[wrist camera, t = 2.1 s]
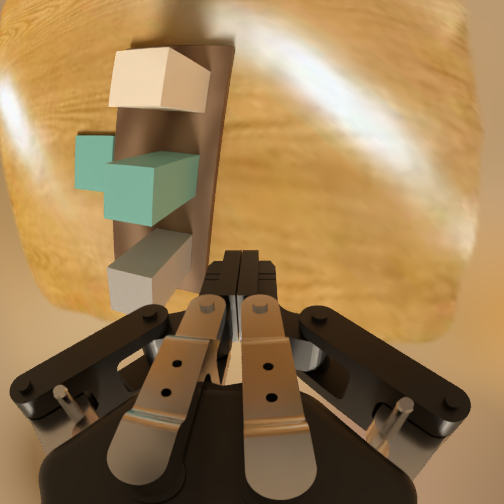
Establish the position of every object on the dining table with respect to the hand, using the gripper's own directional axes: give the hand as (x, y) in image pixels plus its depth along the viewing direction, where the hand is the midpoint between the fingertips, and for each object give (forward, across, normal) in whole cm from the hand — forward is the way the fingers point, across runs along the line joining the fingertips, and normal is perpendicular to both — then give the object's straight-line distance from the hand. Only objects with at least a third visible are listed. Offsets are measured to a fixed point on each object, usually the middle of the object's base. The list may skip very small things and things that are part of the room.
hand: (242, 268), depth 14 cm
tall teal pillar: (+23, +9, 0) cm, 25 cm away
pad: (+26, +23, -2) cm, 35 cm away
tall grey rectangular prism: (+22, +11, +10) cm, 27 cm away
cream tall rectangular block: (+24, +8, -10) cm, 26 cm away
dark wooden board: (+25, +11, 0) cm, 27 cm away
